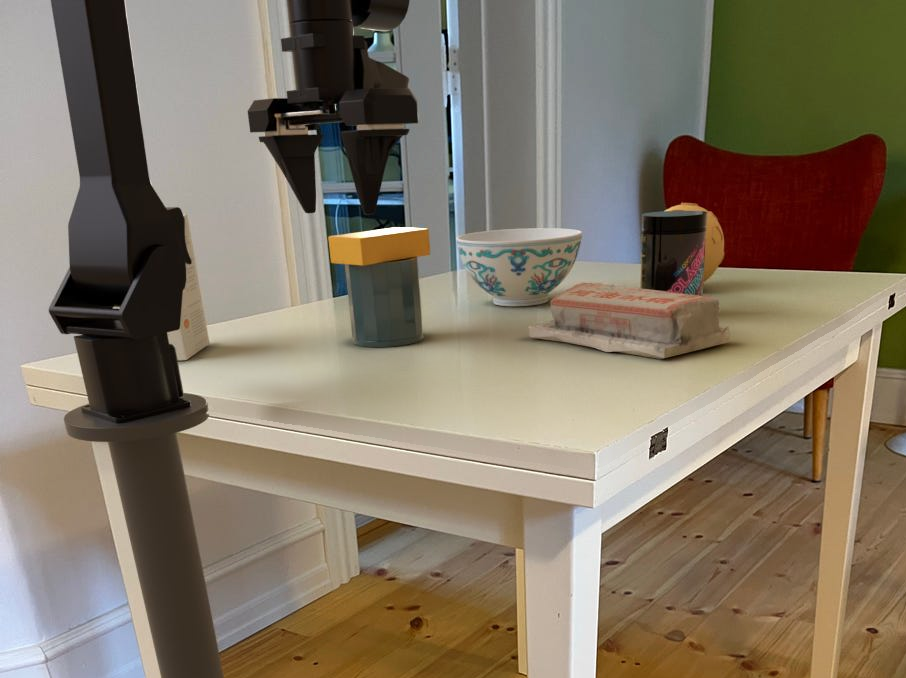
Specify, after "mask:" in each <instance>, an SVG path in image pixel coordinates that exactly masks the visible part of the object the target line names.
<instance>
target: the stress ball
mask: <svg viewBox="0 0 906 678" xmlns="http://www.w3.org/2000/svg"><path fill="white" fill-rule="evenodd" d="M664 211H705V212H707V226H706V227H707V230H706V242H705V260H704V278H703V284H704V283H705V282H706V281H708V280H709V279H710V278H711V277H712V276H713V275H714V274H715V273H716V271H717V269H718V268H719V266H720V264H722V262H723V261H724V258H725V237H724V232H723V228H722V226H721V224H720V223H719V219H718V217H717V216H716V215H715V214H714V212H712V210H711V211H710V210H709V211H708V209H705V208H704V207H701V206H699V204H698V203H695V202H694V203H691V202H681V203H680V204H677V205H674V206H671V207H669V208H667V209H665V210H664Z"/></svg>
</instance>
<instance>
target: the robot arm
mask: <svg viewBox="0 0 906 678" xmlns="http://www.w3.org/2000/svg"><path fill="white" fill-rule="evenodd" d="M410 2H411V1H410V0H286V7H287V8H286V10H287V19H288V27H289V37H288V36H287V37H282V38H280V45H281V52H282V53H291V56H292V65H293V66H292V67H293V76H294V83H295V84H294V85H295V89H292V90H286V97H281V98H280V97H279V98H278V97H273V98H264V99H255V100H253V101H252V103H251V104H250V106H249V108H248V109H247V118H248V125H249V132H250V133H264V135H262V136H258V141H259V143H263V144H264V145H265V147H266V149H267V150H268V152H269V154H270V155H271V156H272V158H273V159H274V161H275V163H276V164H277V165H278V168H279V170H280V171H281V172H282V174H283V176H284V177H285V179H286V182H287V183H288V185H289V187H290V189H291V190H292V192H293V194H294V195H295V198H296V199H297V201H298V203H299V205H300V206H301V208H302V210H303V213H305V214H315V213H316V212H317V211H316V210H317V183H316V182H317V181H316V157H315V156H316V155H315V154H316V151H317V149H318V147H319V145H320V143H321V142H322V140H323V138H324V134H323V133H320V134H319V133H318V134H309V132H310V131H318V130H319V127H320V125H321V124H332V123H333V124H335V123H344V124H345V126H346V127H350V126H351V127H352V126H353V127H354V126H356V129H355V130H354V129H353V130H342V131H341V130H340V136H341V140H342V143H343V148H344V151H345V155H346V158H347V161H348V164H349V165H348V166H349V169H350V173H351V176H352V177H351V178H352V180H353V184H354V188H355V191H356V195H357V199H358V201H359V204H360V208H361V210H362V212H363V215H366V216H370V215H374V214H376V211H377V206H378V202H379V197H380V192H381V188H382V184H383V179H384V175H385V170H386V166H387V163H388V160H389V157H390V154H391V150H393V148H394V147H395V146H396V144H397V143H398V142H399V141H400V140H401V138H403V137H404V136H408V134H409V133H410V128H404V125H414V124H419V121H420V120H419V110H418V108H419V107H418V105H419V104H418V99H417V98H416V96H415V95H414V93H413V92H412V90H411V89H410V88H409V83H410V78H409V76H407V75H405V74H403V73H401V72H400V71H398V70H396V69H395V68H393V67H391V66H390V65H387V64H386V63H384V62H381V61H378V60H375V59H374V58H372V57H370V55H369V51H368V42H367V40H365V35H355V29H362V30H371V31H380V32H391V31H393V30H395V29H397V28H398V27H399V26H400V25H401V24H402V23H403V22H404V20H405V19H406V16H407V13H408V12H409V6H410ZM50 5H51V11H52V18H53V23H54V24H53V25H54V29H55V35H56V41H57V47H58V48H57V49H58V54H59V60H60V66H61V73H62V78H63V84H64V90H65V97H66V102H67V109H68V114H69V115H68V116H69V120H70V121H69V122H70V126H71V127H70V128H71V132H72V133H71V134H72V140H73V145H74V149H75V150H74V151H75V156H76V162H77V169H78V175H79V188H78V191H77V195H76V197H75V201H74V204H73V207H72V211H71V214H70V217H69V220H68V224H67V230H68V231H67V232H68V233H67V234H68V262H69V267H68V269H67V271H66V272H65V275H64V277H63V279H62V281H61V284H59V287H58V289H57V291H56V293H55V295H54V298H53V299H52V301H51V302H50V305H49V307H48V314H49V315H50V317H51V319H52V320H53V322H54V324H55V326H56V327H57V329H58V331H59V333H60V334H62V335H70V334H71V335H74V336H73V341H74V344H75V349H76V353H77V359H78V362H79V367H80V371H81V374H82V379H83V383H84V388H85V392H86V396H87V400H88V404H89V405H86V404H84V405H85V406H83V405H81V406H82V407H81V406H80V407H81V410H82V413H85V414H88V415H91V416H95V417H98V418H101V419H104V420H107V421H110V422H113V423H126V422H130V421H134V420H138V419H142V418H146V417H150V416H155V415H159V414H163V413H167V412H171V411H175V410H179V409H183V408H188V407H190V406H191V404H190V400H186V399H182V398H179V397H182V396H183V394H184V393H185V392H184V388H183V382H182V377H181V372H180V367H179V361H178V360H177V355H176V349H175V346H173V345H172V344H169V340H168V335H167V332H171V331H176V330H179V329H180V321H181V309H182V296H183V290H184V289H185V285H186V264H191V263H192V261H191V258H190V256H189V254H188V251H187V247H186V242H185V219H184V216H183V214H184V213H183V211H182V209H181V208H180V207H178V206H167V207H166V206H165V204H164V202H163V201H162V199H161V198H160V196H159V195H158V192H156V190H155V188H154V187H153V185H152V181H151V178H150V172H149V166H148V158H147V152H146V151H147V150H146V144H145V137H144V130H143V124H142V123H143V122H142V116H141V108H140V107H141V106H140V100H139V94H138V93H139V92H138V87H137V78H136V72H135V71H136V70H135V66H134V57H133V50H132V43H131V37H130V36H131V35H130V28H129V20H128V14H127V6H126V0H50ZM336 105H338V109H337V108H336ZM321 108H322V109H321ZM116 307H120V309H117V308H116Z"/></svg>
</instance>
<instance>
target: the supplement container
mask: <svg viewBox="0 0 906 678" xmlns="http://www.w3.org/2000/svg"><path fill="white" fill-rule="evenodd" d="M706 226H707V212H705V211H665V210H662V211H653V212H652V211H651V212H645V213H642V214H641V229H640V231H641V247H640V248H641V249H640V284H639V288H640V289H649V290H658V291H667V292H675V293H682V294H689V295H699V296H704V283H703V278H704V260H705V242H706V230H707V227H706Z"/></svg>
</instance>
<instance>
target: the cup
mask: <svg viewBox="0 0 906 678" xmlns="http://www.w3.org/2000/svg"><path fill="white" fill-rule="evenodd" d="M344 271H345V279H346V289H347V298H348V308H349V317H350V327H351V328H350V329H351V337H352V342H353V344H354V345H356V346H359V347H364V348H389V347H390V348H392V347H401V346H407V345H412V344H415V343H418V342H421V341H422V340H423V339H424V326H423V324H424V323H423V312H422V297H421V284H420V270H419V257H413V258H407V259H401V260H395V261H389V262H383V263H376V264H370V265H364V266H361V265H349V264H344Z"/></svg>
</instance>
